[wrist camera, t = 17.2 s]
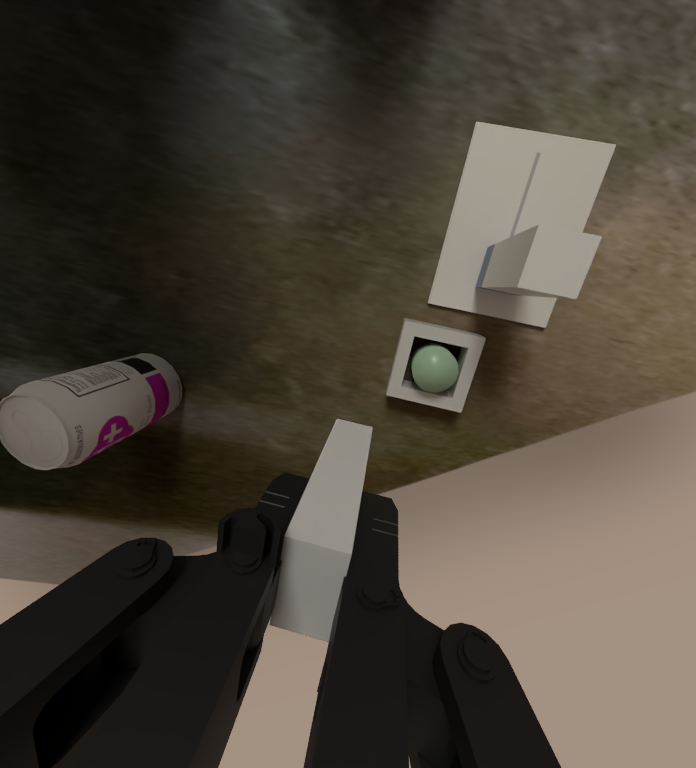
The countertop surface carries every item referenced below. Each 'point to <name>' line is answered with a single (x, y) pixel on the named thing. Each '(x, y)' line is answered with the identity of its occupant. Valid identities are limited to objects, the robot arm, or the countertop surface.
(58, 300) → the countertop surface
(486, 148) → the slotted base plate
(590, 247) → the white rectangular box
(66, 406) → the supplement can
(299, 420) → the countertop surface
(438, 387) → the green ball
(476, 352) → the housing
